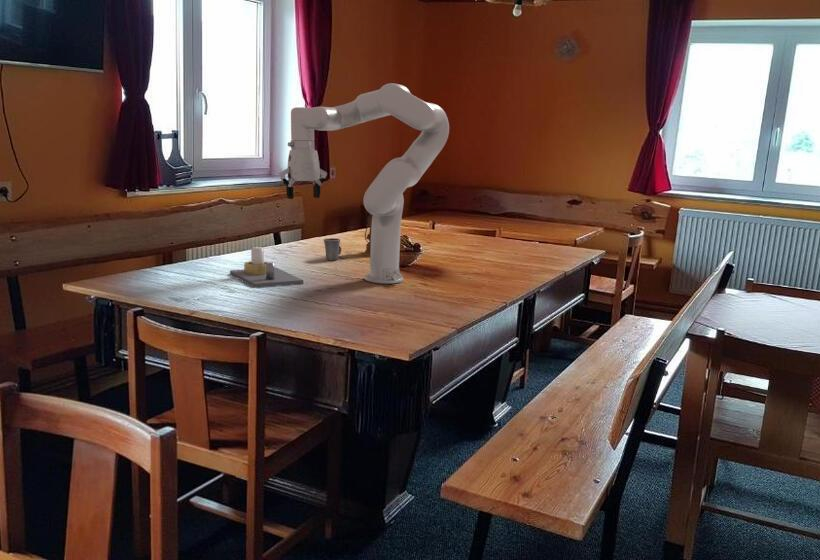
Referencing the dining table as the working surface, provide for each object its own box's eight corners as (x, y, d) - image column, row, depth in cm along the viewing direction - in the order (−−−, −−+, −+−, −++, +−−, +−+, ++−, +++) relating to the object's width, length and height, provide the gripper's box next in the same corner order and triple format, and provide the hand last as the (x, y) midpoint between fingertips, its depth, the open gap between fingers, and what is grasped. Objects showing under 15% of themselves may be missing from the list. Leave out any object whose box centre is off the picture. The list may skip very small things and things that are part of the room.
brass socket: (273, 273, 240) (273, 264, 240) (249, 275, 236) (249, 266, 236) (264, 269, 247) (264, 260, 246) (241, 270, 243) (241, 261, 242)
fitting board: (303, 283, 234) (303, 280, 233) (254, 287, 225) (254, 283, 225) (276, 270, 252) (276, 267, 251) (230, 274, 243) (230, 270, 243)
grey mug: (344, 256, 285) (345, 236, 283) (336, 262, 272) (337, 241, 271) (329, 255, 286) (329, 235, 284) (320, 261, 273) (321, 239, 272)
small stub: (275, 279, 232) (275, 263, 231) (267, 280, 231) (268, 264, 230) (272, 277, 234) (272, 262, 233) (264, 278, 233) (264, 262, 232)
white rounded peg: (266, 272, 241) (266, 248, 240) (254, 273, 239) (254, 249, 237) (260, 270, 244) (260, 246, 243) (249, 271, 242) (249, 247, 241)
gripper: (283, 146, 237) (284, 200, 240) (331, 146, 246) (331, 198, 250) (273, 145, 243) (274, 198, 246) (320, 145, 252) (321, 196, 256)
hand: (303, 198), depth 248 cm, fingers open, 9 cm apart
